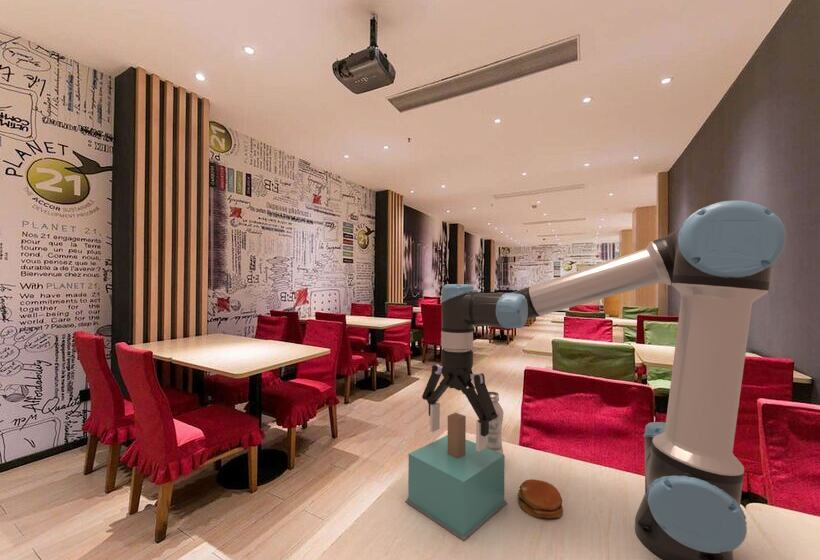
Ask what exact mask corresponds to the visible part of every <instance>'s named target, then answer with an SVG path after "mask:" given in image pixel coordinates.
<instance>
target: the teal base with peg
mask: <svg viewBox="0 0 820 560" xmlns="http://www.w3.org/2000/svg"><path fill="white" fill-rule="evenodd" d="M466 419H467V417H466V415H463V414H461V413H458V412H454V413H450V414H449V415H447V435H445V436H443V437H440V438H439V439H437V440H434V441H432V442H430V443H428V444H426V445H424V446H422V447H420V448H417V449H415V450H413V451H411V452H409V453H408V481H407V482H408V485H407V486H408V491H407V492H408V493H407V495H408V496H407V497H408V498H407V499H408V501H410V502H411V503H413V504H414V505H416V506H417V507H419V508H420V509H422V510H423V511H425V512H426V513H428V514H429V515H431V516H432V517H434V518H435V519H437V520H438V521H440V522H442V523H443V524H445V525H446V526H448V527H449V528H451V529H452V530H454V531H455V532H457V533H458V534H460V535H461V536H463V537H464V536H465V535H466V534H467V533H469V532H470V531H471V530H472V529H473V528H474V527H476V526H477V525H478V524H479V523H480V522H481V521H483V520H484V519H485V518H486V517H487V516H488V515H490V514H491V513H492V512H493V511H494V510H495V509H497V508H498V507H499V506H500V505H501V504H502V503H504V500H505V454H504V453H503V454H501V453H499V452H496V451H494V450H491V449H489V448H484V449H483V450H481V451H476V442H473V441H471V440H468V439H466V438H467V437H466V434H467V433H466V430H467V428H466V424H467V423H466V421H467V420H466Z"/></svg>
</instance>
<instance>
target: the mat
mask: <svg viewBox="0 0 820 560" xmlns="http://www.w3.org/2000/svg"><path fill="white" fill-rule="evenodd" d="M404 503H406V504H407V505H409V506H410V507H412V508H413V509H415V510H416V511H418V513H420V514H422V515H423V516H425V517H426V518H428V519H430V520H431V521H433V522H434V523H436V524H437V526H440V527H442V528H443V529H444V530H446V531H447V532H449V533H450V534H453V535H454V536H455V537H457V538H458V539H459V540H461V541H463V542H465V541H466V540H467V539H469V538H470V537H471V536H472V535H473V534H474V533H476V531H478V530H480V528H481V527H482V526H484V525H485V524H486V523H487V522H488V521H490V520H491V518H493V516H495V515H496V514H497V513H498V512H499V511H501V510H502V509H503V508H504V507H505V506H506V505H507V504H508V501H506V500H505V499H504V503H502V504H501V505H500V506H499V507H498V508H497V509H495V510H494V511H493V512H492V513H491V514H490V515H488V516H487V517H486V518H485V519H484V520H483V521H481V522H480V523H479V524H478V525H477V526H476V527H474V528H473V529H472V530H471V531H470V532H469V533H467V534H466V535H465V536H464V537H463V536H461V535H460V534H458V533H457V532H455V531H454V530H452V529H451V528H449V527H448V526H446V525H445V524H443V523H442V522H440V521H438V520H437V519H435V518H434V517H432V516H431V515H429V514H428V513H426V512H425V511H423V510H422V509H420V508H419V507H417V506H416V505H414V504H413V503H411V502H410V501H408V498H407V499H405V502H404Z"/></svg>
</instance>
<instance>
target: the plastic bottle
mask: <svg viewBox="0 0 820 560" xmlns="http://www.w3.org/2000/svg"><path fill="white" fill-rule="evenodd" d="M488 393H489V395H490V398H491V400H492V403H493V406H494V408H495V411H496V414H497V418H496V419H494V420H492V421H489V434H488V435H486V448H489V449H491V450H494V451H496V452H499V453H501V454H504V448H503V441H502V440H503V439H502V433H503V432H502V430H503V421H504V410H503V408H502V406H501V405H500V403H499V401H500V397H499V395H500V394H499V393H498V392H495V391H488Z"/></svg>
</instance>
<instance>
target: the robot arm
mask: <svg viewBox="0 0 820 560" xmlns="http://www.w3.org/2000/svg"><path fill="white" fill-rule="evenodd" d="M786 243H787V231H786V228H785V225H784V223H783V221H782V220H781V218H780V217H779V215H777V214H776V213H774V212H773V211H772V210H771V209H769V208H767V207H765V206H763V205H761V204H758V203H756V202H752V201H746V200H737V199H736V200H724V201H719V202H718V201H717V202H716V203H713V204H709V205H707V206H704V207H702V208H700V209H698V210H696V211H694V212H693V213H692V214H690V215H689V217H687V218H686V219H685V220H684V222H683V223H682V224H681V227H680V228H679V229H677V230H676V231H674V232H671V233H669V234H667V235H665V236H663V237H661V238H658V239H655V240H651V241H650V242H649V243H648V244H647V246H646V248H642V249H640V250H637V251H635V252H632V253H628V254H625V255H622V256H619V257H616V258H613V259H610V260H607V261H604V262H601V263H597V264H594V265H591V266H589V267H585V268H583V269H580V270H577V271H574V272H573V271H572V272H571V273H570V272H569V273H567V274H564V275H560V276H559V277H555V278H552V279H549V280H546V281H543V282H540V283H538V284H534V285H532V286H527V287H524V288H521V289H519V290H515V291H513V292H488V293H487V292H485V293H484V292H475V290H474V286H473V284H470V283H469V284H467V283H465V284H463V283H458V284H457V283H454V284H453V283H451V284H450V283H447V284H444V285H443V287H442V289H441V290H442V291H441V301H440V305H441V332H440V335H441V337H440V347H441V348H442V349H441V350H440V351H441V352H440V363H438V364H434V365H432V367H431V373H430V374H431V375H430V377H429V379H428V382H427V383H426V386H425V387H424V391H423V394H422V395H421V397H422V399H423V400H424V401H427V404H428V416H429V420H430V421H429V427H430V428H429V432H431V433H434V432H436V431H438V430H440V418H441V417H440V413H441V412H440V411H441V410H440V409H441V408H440V402H439V401H440V398H441V397H442V396H443V394H444V393H445V392H446V391H447V389H448V388H449V389H455V390H456V391H461V392H462V394H463V395H465V397H466V399H467V400H468V402H469V404H470V406H471V407H472V409H473V410H474V413H475V414H476V416H477V418H478V419H477V420H476V422H475V428H476V429H475V434H476V435H475V438H476V439H475V443H476V451H481V450H483V449H484V448H486V435H488V434H489V421H492V420H494V419H496V418H497V414H496V411H495V408H494V406H493V403H492V400H491V398H490V395H489V393H488V392H489V390H488V388H487V385H486V380H485V379H486V378H485V374H484V373H473V365H474V351H473V350H472V349H473V348H474V326H482V327H491V328H492V327H493V328H496V327H497V328H503V329H507V330H509V329H521V328H524V326H525V325H526V323H527V320H530V319H534V318H537V317H541V316H544V315H548V314H552V313H555V312H558V311H563V310H565V309H569V308H575V307H576V306H581V305H584V304H588V303H590V302H594V301H599V300H603V299H606V298H610V297H613V296H617V295H620V294H623V293H628V292H631V291H634V290H638V289H642V288H645V287H649V286H653V285H657V284H665V285H667V286H671V287H673V288H674V289H676V291H677V292H679V295H680V296H681V297H680V303H679V304H680V307H679V314H678V321H677V328H676V329H677V330H676V338H675V339H676V340H675V346H674V355H673V361H672V370H671V376H670V377H671V378H670V384H669V385H670V386H669V393H668V395H669V396H668V403H667V412H666V418H665V422H664V421H653V422H652V421H651V422H648V423H647V424H646V425H645V428H644V433H643V437H644V495H643V498H642V500H641V503H640V504H639V507H638V509H637V512H636V513H635V514H636V515H635V518H634V528H635V529H634V531H635V534H636V536H637V537H638V539H639V540H640V542H641V543H642V544H643V546H645V547H646V548H647V549H648V550H649V551H651V552H652V553H653V554H654V555H656V557H657V556H658V557H659V558H661V559H662V560H734V559H733V557H734V556H733V555H734V553H733V551H734V550H736V549H737V548H739V547H740V546H741V545H742V544H743V543H744V541H745V538H746V537H747V531H748V530H747V529H748V528H747V521H746V519H747V516H746V515H745V513H744V510H743V508H742V506H741V499H742V491H743V484H744V483H743V482H744V476H745V475H744V474H745V467H744V465H743V464H742V462H741V461H740V460H739V459H738V457H736V456H735V454H734V453H733V451H734V446H735V445H734V444H735V436H736V429H737V420H738V415H739V414H738V413H739V407H740V397H741V391H742V381H743V377H744V370H745V367H744V366H745V361H746V353H747V345H748V340H749V339H748V338H749V330H750V329H749V328H750V324H751V323H750V322H751V316H752V309H753V308H752V307H753V303H755V301H757V300H759V299H760V298H761V297H764V296H765V295H767V294H769V288H770V283H771V275H772V269H773V265H774V264H776V262H777V261H778V259H779V258H780V256H781V255H782V254H783V251H784V249H785V247H786ZM441 376H442V377H443V378H442V379H441V381H440V382H439V380H440V378H441ZM438 383H439V385H438ZM437 385H438V386H437Z"/></svg>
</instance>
